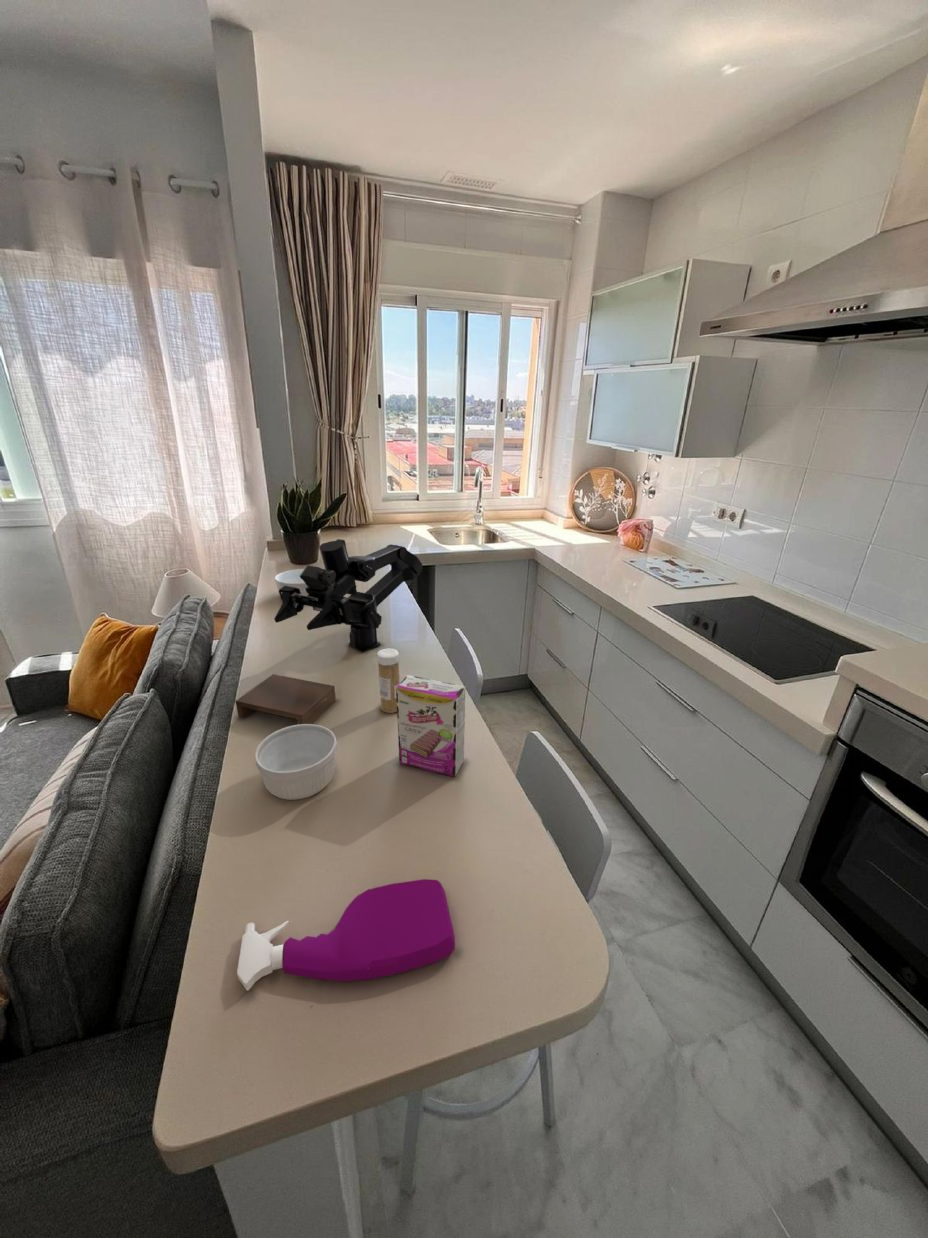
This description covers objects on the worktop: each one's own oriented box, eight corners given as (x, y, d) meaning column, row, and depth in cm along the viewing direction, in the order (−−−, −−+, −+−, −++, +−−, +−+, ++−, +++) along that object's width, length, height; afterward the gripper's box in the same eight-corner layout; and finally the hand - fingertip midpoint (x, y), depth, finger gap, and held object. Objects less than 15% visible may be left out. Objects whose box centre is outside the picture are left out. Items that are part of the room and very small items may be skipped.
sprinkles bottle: (405, 709, 107) (402, 653, 101) (385, 716, 104) (382, 659, 99) (395, 700, 110) (393, 645, 105) (376, 706, 108) (373, 650, 103)
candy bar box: (398, 765, 90) (393, 687, 83) (409, 749, 94) (406, 673, 88) (455, 779, 86) (456, 699, 80) (465, 762, 91) (466, 684, 84)
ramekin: (296, 818, 78) (290, 783, 75) (243, 787, 84) (236, 753, 82) (355, 771, 88) (352, 739, 86) (304, 746, 95) (300, 715, 92)
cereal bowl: (319, 603, 165) (317, 583, 162) (269, 602, 165) (266, 582, 162) (332, 587, 181) (330, 568, 178) (287, 586, 181) (284, 567, 178)
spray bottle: (458, 965, 57) (232, 1020, 52) (441, 884, 67) (249, 923, 62) (458, 948, 56) (227, 1002, 51) (440, 868, 66) (245, 907, 61)
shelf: (275, 689, 114) (273, 674, 112) (336, 701, 109) (334, 685, 108) (238, 717, 103) (235, 700, 102) (303, 732, 99) (301, 715, 97)
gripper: (295, 554, 119) (247, 586, 107) (358, 564, 111) (315, 600, 100) (307, 593, 125) (263, 628, 114) (368, 605, 118) (328, 643, 106)
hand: (291, 624), depth 108 cm, fingers open, 9 cm apart
